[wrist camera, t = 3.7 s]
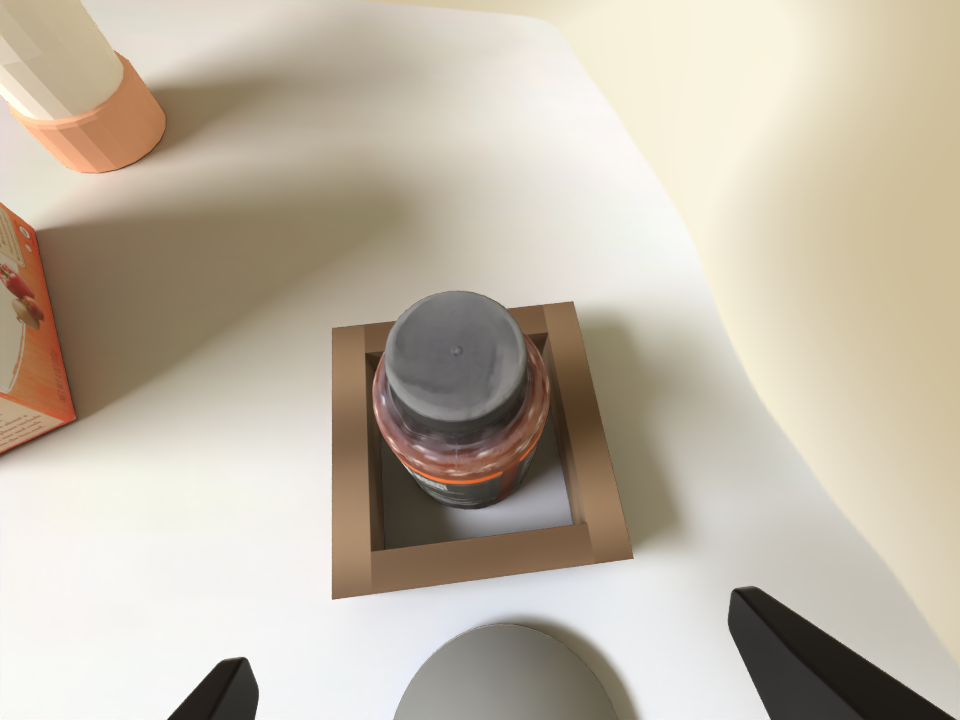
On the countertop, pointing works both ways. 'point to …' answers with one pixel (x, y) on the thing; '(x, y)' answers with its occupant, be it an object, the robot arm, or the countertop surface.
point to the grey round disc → (504, 680)
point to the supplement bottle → (461, 398)
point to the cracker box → (27, 341)
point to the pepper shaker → (74, 87)
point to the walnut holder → (583, 543)
